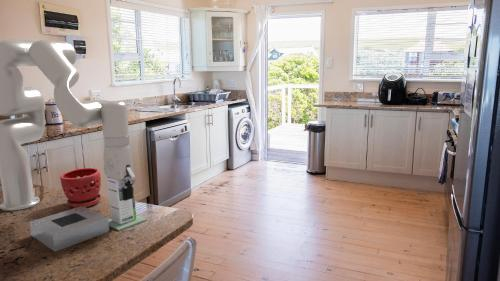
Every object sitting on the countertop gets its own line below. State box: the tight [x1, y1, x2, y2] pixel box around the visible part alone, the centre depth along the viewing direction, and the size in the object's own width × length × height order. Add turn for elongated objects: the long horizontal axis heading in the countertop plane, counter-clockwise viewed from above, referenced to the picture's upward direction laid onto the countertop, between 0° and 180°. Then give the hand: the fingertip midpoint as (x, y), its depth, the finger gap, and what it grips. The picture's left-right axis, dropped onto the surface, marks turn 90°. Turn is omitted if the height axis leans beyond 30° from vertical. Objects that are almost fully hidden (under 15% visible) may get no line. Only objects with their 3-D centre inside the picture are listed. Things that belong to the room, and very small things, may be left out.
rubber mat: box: [108, 214, 148, 232], centre depth 123 cm, size 10×10×1 cm
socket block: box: [29, 206, 110, 252], centre depth 114 cm, size 16×16×4 cm
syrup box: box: [106, 176, 137, 224], centre depth 122 cm, size 6×6×14 cm
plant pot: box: [59, 167, 102, 208], centre depth 139 cm, size 13×13×12 cm
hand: (121, 196), depth 121 cm, fingers open, 6 cm apart
